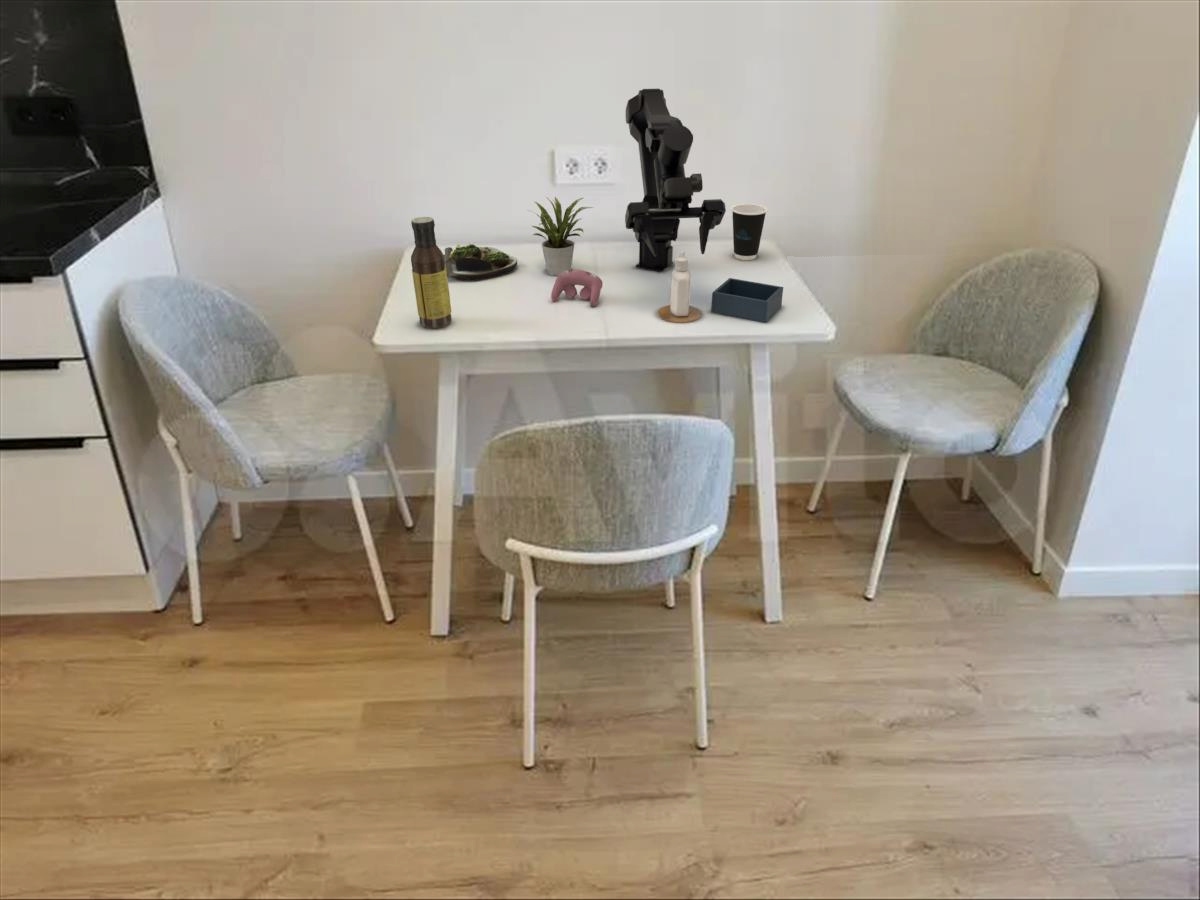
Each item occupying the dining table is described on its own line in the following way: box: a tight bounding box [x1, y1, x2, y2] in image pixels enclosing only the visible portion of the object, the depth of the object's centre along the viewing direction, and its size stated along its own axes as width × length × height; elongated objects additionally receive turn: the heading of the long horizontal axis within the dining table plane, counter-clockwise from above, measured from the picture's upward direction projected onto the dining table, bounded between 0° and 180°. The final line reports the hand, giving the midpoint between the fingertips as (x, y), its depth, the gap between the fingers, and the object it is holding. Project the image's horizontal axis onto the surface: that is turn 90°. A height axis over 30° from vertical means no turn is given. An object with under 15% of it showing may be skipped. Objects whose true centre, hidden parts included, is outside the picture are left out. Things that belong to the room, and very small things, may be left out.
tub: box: [710, 277, 784, 323], centre depth 172 cm, size 11×9×4 cm
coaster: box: [657, 304, 702, 324], centre depth 171 cm, size 8×8×1 cm
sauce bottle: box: [410, 216, 452, 329], centre depth 163 cm, size 6×6×20 cm
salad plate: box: [443, 243, 518, 282], centre depth 195 cm, size 19×18×5 cm
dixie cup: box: [731, 203, 768, 261], centre depth 198 cm, size 8×8×11 cm
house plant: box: [527, 196, 594, 276], centre depth 189 cm, size 14×14×16 cm
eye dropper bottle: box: [669, 250, 691, 317], centre depth 168 cm, size 4×6×12 cm
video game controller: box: [550, 269, 603, 307], centre depth 177 cm, size 10×5×7 cm, turn 71°
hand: (679, 254), depth 168 cm, fingers open, 9 cm apart
